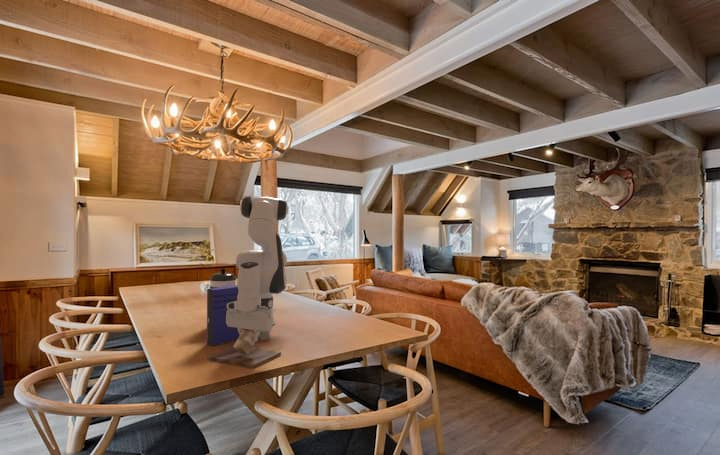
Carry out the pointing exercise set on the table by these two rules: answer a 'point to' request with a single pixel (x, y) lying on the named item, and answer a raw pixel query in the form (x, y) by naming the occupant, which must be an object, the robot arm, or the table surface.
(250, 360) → the walnut board
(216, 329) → the cereal box
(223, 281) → the coffee press
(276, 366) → the table surface
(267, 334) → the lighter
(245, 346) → the birch block
